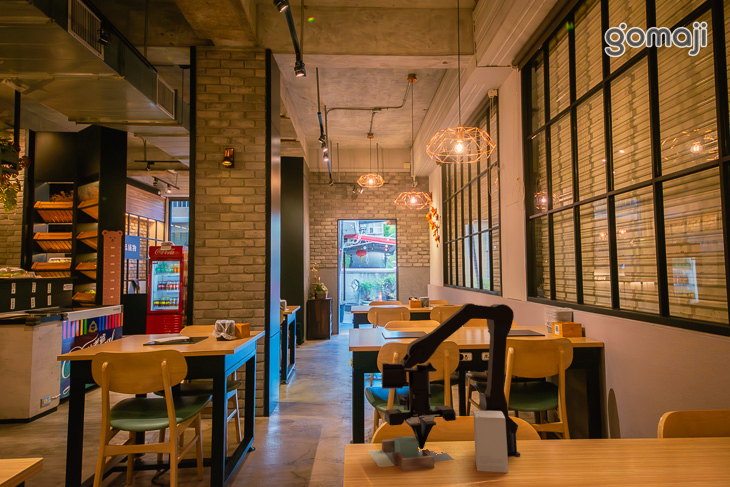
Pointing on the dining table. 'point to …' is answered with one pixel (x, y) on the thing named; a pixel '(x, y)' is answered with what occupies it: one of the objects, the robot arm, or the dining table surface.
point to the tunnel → (409, 463)
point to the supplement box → (490, 441)
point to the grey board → (386, 457)
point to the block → (407, 446)
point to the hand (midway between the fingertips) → (421, 448)
